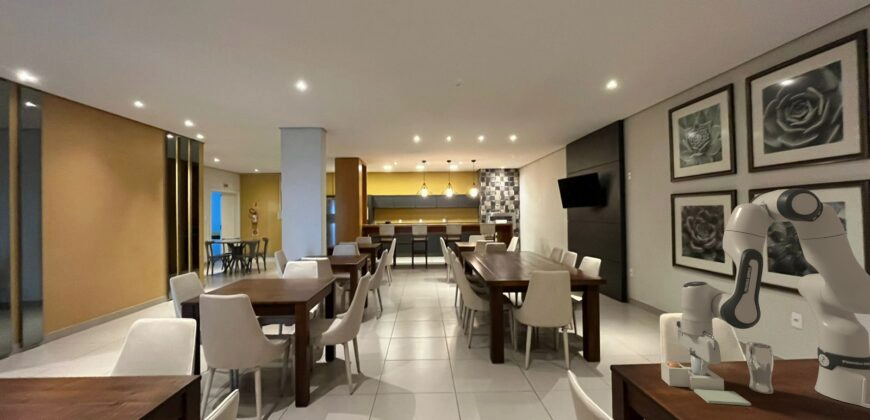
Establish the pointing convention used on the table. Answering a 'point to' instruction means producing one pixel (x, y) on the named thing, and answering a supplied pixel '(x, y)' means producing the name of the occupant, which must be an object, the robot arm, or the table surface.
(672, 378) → the housing
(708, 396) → the mat
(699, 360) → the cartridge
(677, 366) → the release button
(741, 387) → the table surface
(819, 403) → the table surface
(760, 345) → the beer glass
